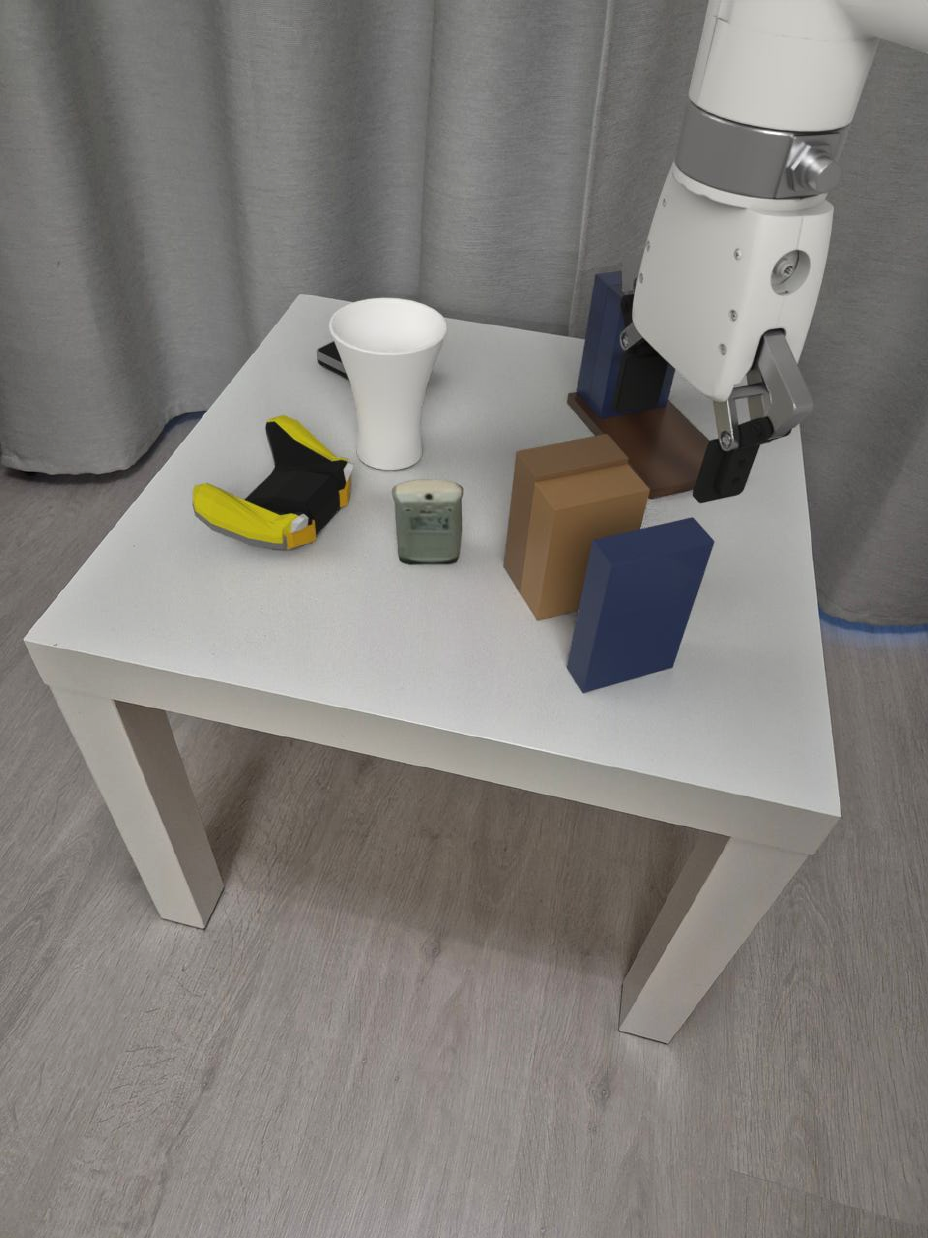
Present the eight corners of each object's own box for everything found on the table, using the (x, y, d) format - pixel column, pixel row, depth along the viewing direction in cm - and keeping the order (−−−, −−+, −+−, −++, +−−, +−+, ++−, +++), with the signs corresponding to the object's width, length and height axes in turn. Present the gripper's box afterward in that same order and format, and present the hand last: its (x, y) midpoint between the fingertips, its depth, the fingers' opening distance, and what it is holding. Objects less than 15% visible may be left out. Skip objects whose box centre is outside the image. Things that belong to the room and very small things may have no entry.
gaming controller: (189, 542, 76) (288, 577, 74) (177, 491, 72) (282, 526, 70) (281, 453, 86) (372, 482, 84) (275, 404, 82) (370, 432, 80)
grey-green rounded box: (414, 586, 74) (415, 511, 68) (381, 552, 77) (379, 477, 71) (469, 562, 76) (474, 488, 71) (435, 529, 79) (438, 455, 73)
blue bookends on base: (646, 388, 98) (674, 263, 88) (737, 480, 87) (781, 348, 77) (566, 402, 95) (586, 274, 85) (649, 499, 84) (683, 365, 74)
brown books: (585, 547, 78) (607, 433, 70) (622, 599, 74) (651, 484, 65) (503, 566, 76) (516, 450, 68) (537, 621, 72) (555, 504, 63)
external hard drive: (358, 344, 102) (358, 328, 101) (431, 379, 97) (431, 362, 96) (315, 366, 98) (314, 350, 97) (389, 403, 93) (388, 386, 92)
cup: (449, 480, 84) (455, 351, 75) (339, 486, 83) (331, 355, 73) (435, 420, 92) (439, 295, 82) (333, 424, 90) (325, 298, 80)
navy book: (654, 643, 71) (693, 516, 61) (673, 668, 69) (715, 541, 60) (566, 667, 68) (592, 539, 59) (582, 694, 66) (611, 566, 57)
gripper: (946, 213, 37) (809, 523, 50) (722, 92, 48) (654, 370, 61) (804, 229, 35) (697, 550, 47) (602, 98, 46) (557, 386, 58)
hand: (673, 449), depth 54 cm, fingers open, 9 cm apart
